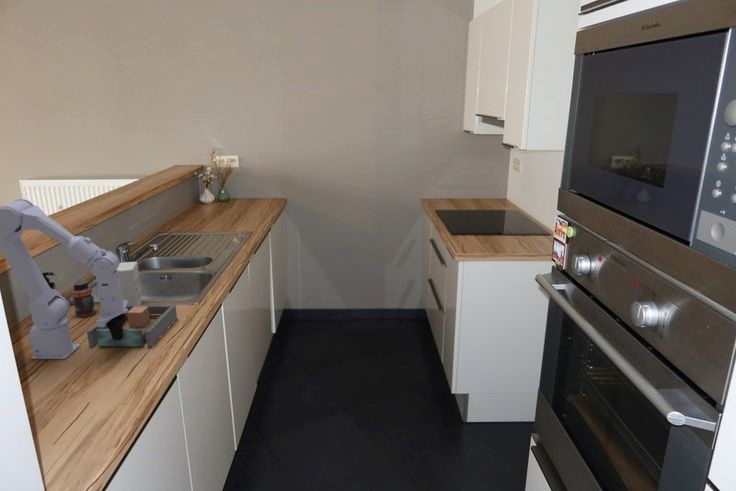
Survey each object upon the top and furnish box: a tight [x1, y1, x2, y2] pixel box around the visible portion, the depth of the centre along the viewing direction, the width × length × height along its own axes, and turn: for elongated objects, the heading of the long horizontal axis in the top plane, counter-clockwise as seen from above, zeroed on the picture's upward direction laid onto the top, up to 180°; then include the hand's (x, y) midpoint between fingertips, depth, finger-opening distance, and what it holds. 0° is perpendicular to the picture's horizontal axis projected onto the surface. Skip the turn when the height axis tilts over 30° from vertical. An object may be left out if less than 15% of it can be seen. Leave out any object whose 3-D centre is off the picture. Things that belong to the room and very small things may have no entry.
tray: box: [96, 314, 162, 347], centre depth 159 cm, size 13×17×5 cm
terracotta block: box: [127, 307, 150, 328], centre depth 163 cm, size 4×4×5 cm
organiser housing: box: [86, 304, 178, 348], centre depth 160 cm, size 18×19×5 cm
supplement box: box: [116, 261, 143, 305], centre depth 177 cm, size 9×9×15 cm
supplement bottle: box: [71, 280, 97, 318], centre depth 173 cm, size 6×6×11 cm
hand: (117, 339), depth 151 cm, fingers closed
